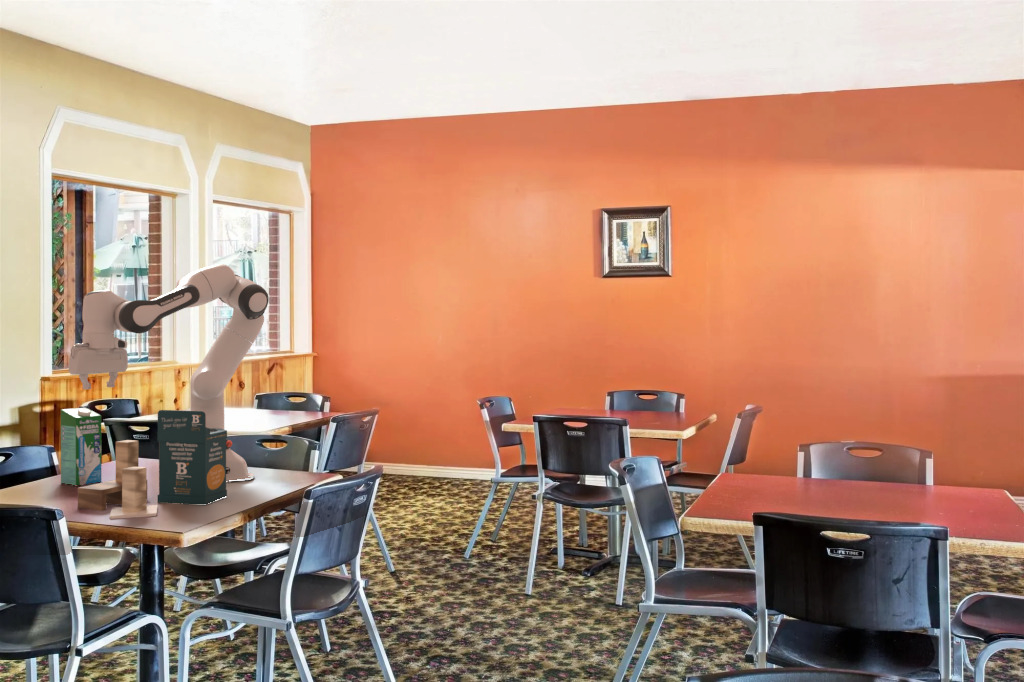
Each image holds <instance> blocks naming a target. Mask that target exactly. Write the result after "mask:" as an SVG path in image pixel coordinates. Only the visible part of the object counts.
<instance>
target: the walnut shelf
mask: <svg viewBox="0 0 1024 682" xmlns="http://www.w3.org/2000/svg"><path fill="white" fill-rule="evenodd" d="M146 481H147V482H148V479H146ZM106 503H107V504H106ZM115 504H118V505H117V506H122V482H117V481H116V479H112V480H108V481H103V482H102V481H101V482H100V483H93V484H88V485H83V486H80V487H79V486H78V487H77V509H79V508H84V509H83V510H89V509H91V510H90V511H101V512H102V511H106V510H107V505H115Z"/></svg>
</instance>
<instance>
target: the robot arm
mask: <svg viewBox="0 0 1024 682" xmlns="http://www.w3.org/2000/svg"><path fill="white" fill-rule="evenodd" d="M217 299H219V300H220V301H221V302H222V303H224V304H226V305H227V306H229V307H230V308H232V309H233V311H232V315H231V318H230V319H229V320H228V321H227V322H226V325H225V326H223V329H222V330H221V331H220V333H219V335H218V336H217V338H216V339H215V341H214V343H213V344H212V346H211V347H210V348H209V350H208V352H207V353H206V355H205V357H204V358H203V360H202V361H201V363H200V364H199V366H198V368H197V369H195V370H194V371H193V372H192V375H191V377H190V381H189V382H190V384H189V385H190V391H189V394H190V397H189V398H190V399H189V400H190V401H189V402H190V408H189V409H190V410H189V411H203V412H205V414H206V427H207V428H218V429H224V430H225V399H224V398H225V394H224V391H225V389H226V388H227V386H228V384H229V382H230V381H231V380H232V378H233V376H234V374H235V372H236V371H237V369H238V367H239V366H240V365H241V363H242V361H243V360H244V358H245V356H246V355H247V354H248V352H249V350H250V349H251V347H252V346H253V344H254V343H255V341H256V339H257V337H258V335H259V334H260V332H261V329H262V328H263V325H264V323H265V316H264V314H265V311H266V309H267V308H268V305H269V294H268V292H267V291H266V290H265V288H264V287H262V286H261V285H260V284H257V283H256V282H254V281H253V280H251V279H249V278H245V277H242V276H240V275H238V274H236V273H235V272H234V270H233V269H232V268H231V267H230V266H229V265H227V264H223V263H221V264H219V263H218V264H214V265H211V266H206V267H203V268H199V269H197V270H195V271H192V272H190V273H187V275H184V276H183V277H181V278H180V279H178V280H177V282H176V284H175V289H173V290H172V291H170V292H167V293H166V294H162V295H160V296H158V297H155V298H152V299H150V300H148V299H147V300H146V299H138V300H137V299H136V300H129V299H126V298H124V297H121V296H119V295H117V294H115V293H114V292H113V291H112V290H110V289H100V290H94V291H90V292H88V293H86V294H85V295H84V297H83V303H82V317H81V318H82V323H83V330H82V343H74V345H72V346H71V348H70V354H69V358H68V359H69V360H68V372H69V374H70V375H74V376H75V375H77V376H79V377H78V378H79V380H80V382H81V383H82V389H83V390H91V389H92V383H89V380H88V378H89V375H90V374H92V375H94V374H108V376H109V379H108V380H107V381H106V387H107V388H115V384H116V380H117V378H118V375H119V374H118V373H124V372H126V371H127V369H128V366H129V360H128V357H129V356H128V352H127V348H128V342H127V341H126V340H123V339H121V338H118V337H116V336H115V331H120V332H124V333H133V334H144V333H147V332H149V331H150V330H151V329H152V328H154V327H155V325H157V324H158V322H160V321H161V320H162V319H164V318H165V317H168V316H170V315H173V314H175V313H177V312H179V311H181V310H184V309H188V308H194V307H195V308H196V307H198V306H199V307H200V306H203V305H205V304H208V303H211V302H213V301H215V300H217ZM232 446H233V442H232V440H229V439H228V438H227V439H226V481H229V480H237V479H245V478H251V477H248V476H253V475H254V476H255V474H254V473H253V474H252V472H250V473H248V472H249V470H248V465H247V462H246V459H244V457H242V456H241V455H239V454H238V453H236V452H235V451H233V449H231V447H232Z"/></svg>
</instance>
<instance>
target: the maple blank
mask: <svg viewBox="0 0 1024 682" xmlns="http://www.w3.org/2000/svg"><path fill="white" fill-rule="evenodd" d="M146 480H147V467H145V466H138V467H129V468H124V469H122V505H121V507H122V511H125V512H139V511H142V510H146V509H147V505H148V504H147V503H148V502H147V500H148V480H147V481H146Z"/></svg>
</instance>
